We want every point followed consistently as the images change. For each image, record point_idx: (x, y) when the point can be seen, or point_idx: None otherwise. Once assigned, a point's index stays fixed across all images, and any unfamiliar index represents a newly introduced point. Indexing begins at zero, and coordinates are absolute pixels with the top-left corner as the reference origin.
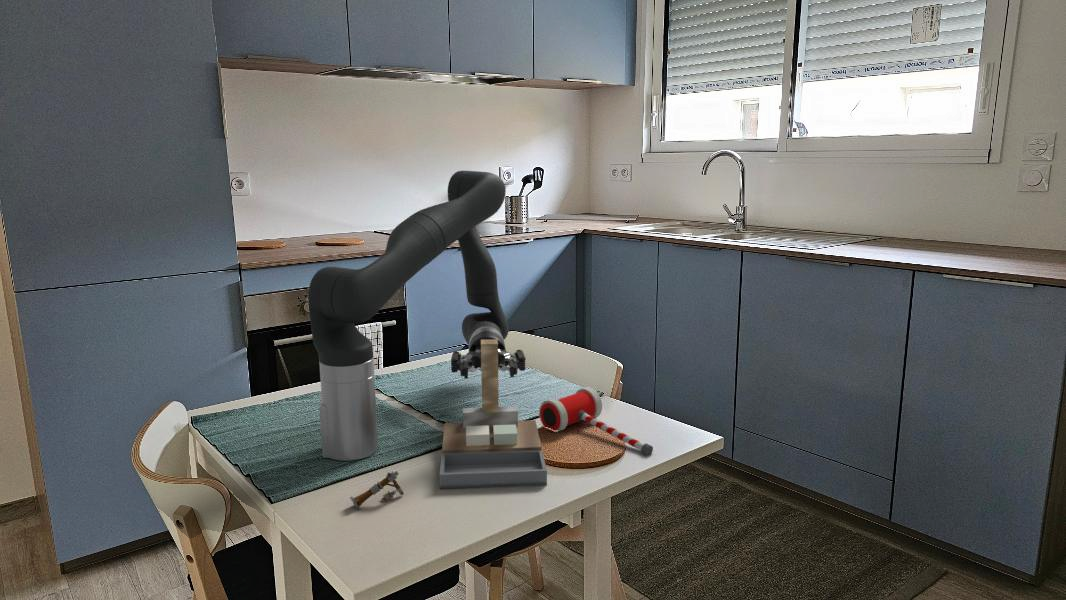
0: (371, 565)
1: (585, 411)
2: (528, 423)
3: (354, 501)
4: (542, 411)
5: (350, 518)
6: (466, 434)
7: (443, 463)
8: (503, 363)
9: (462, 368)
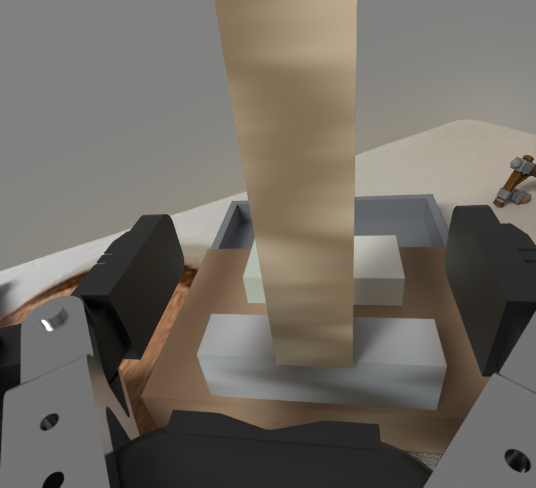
0: (466, 131)
1: None
2: (177, 373)
3: None
4: None
5: None
6: (395, 238)
7: (436, 220)
8: (126, 421)
9: (505, 230)
